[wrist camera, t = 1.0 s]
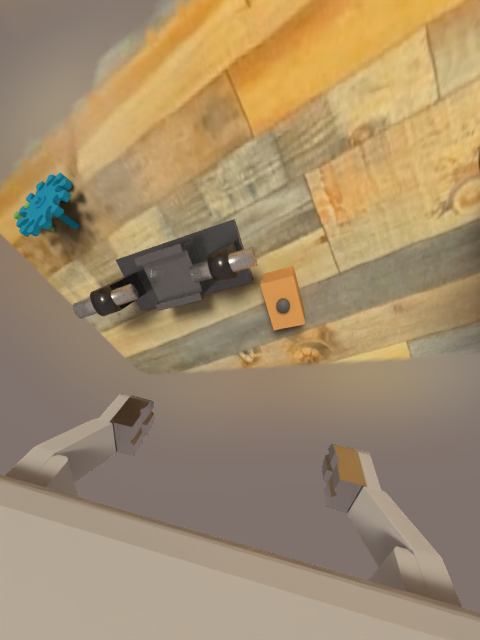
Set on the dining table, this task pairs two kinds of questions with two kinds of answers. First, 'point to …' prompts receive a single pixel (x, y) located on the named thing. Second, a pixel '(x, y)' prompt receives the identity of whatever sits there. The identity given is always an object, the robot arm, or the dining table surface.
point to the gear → (45, 206)
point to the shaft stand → (176, 272)
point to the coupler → (283, 298)
